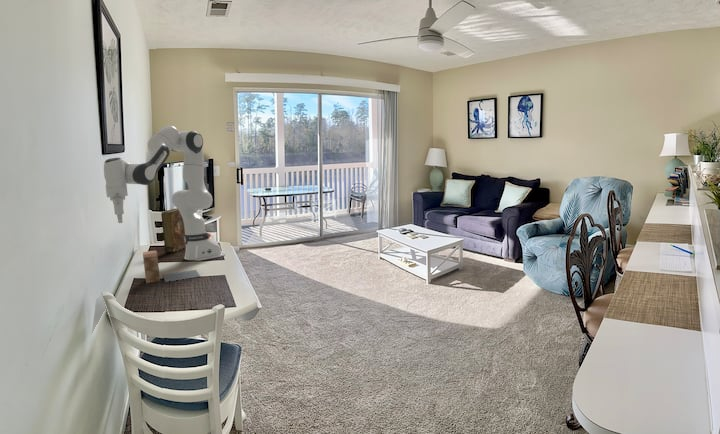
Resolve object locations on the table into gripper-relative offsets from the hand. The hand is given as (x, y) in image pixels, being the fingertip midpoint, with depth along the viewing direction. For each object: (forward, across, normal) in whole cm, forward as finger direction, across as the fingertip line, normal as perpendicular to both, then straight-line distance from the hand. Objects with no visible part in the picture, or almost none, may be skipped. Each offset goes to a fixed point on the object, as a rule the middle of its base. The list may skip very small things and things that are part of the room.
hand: (120, 221), depth 221 cm
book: (+29, +58, -29) cm, 71 cm away
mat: (+29, -6, -24) cm, 38 cm away
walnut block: (+29, -6, -11) cm, 32 cm away
